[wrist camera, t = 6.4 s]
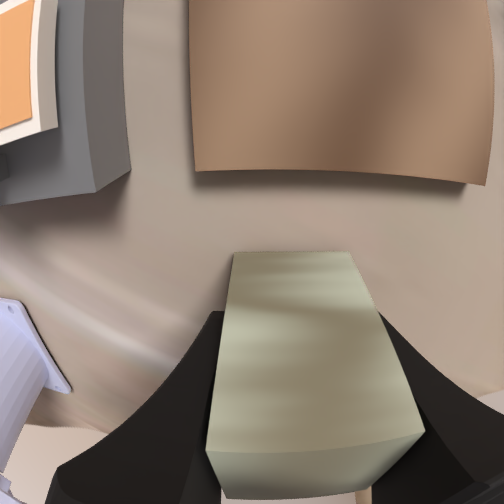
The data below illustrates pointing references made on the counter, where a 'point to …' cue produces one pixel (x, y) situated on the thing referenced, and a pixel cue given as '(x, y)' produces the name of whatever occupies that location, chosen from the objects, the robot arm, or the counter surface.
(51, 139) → the switch base
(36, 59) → the rocker
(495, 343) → the counter surface
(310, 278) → the block
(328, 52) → the walnut board
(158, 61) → the counter surface
